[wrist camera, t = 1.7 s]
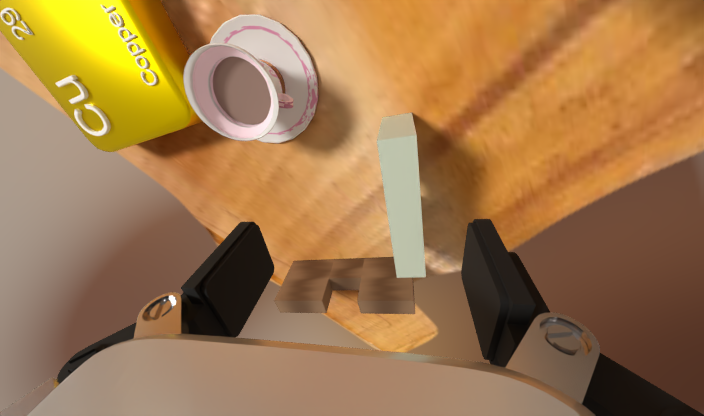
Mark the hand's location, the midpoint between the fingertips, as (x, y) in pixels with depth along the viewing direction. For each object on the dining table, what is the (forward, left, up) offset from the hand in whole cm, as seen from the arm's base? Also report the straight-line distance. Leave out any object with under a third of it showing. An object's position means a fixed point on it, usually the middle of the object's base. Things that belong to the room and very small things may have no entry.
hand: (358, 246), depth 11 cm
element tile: (+26, -11, -20) cm, 34 cm away
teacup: (+12, -7, -19) cm, 23 cm away
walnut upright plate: (+7, +19, -19) cm, 28 cm away
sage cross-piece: (-2, +6, -19) cm, 20 cm away
